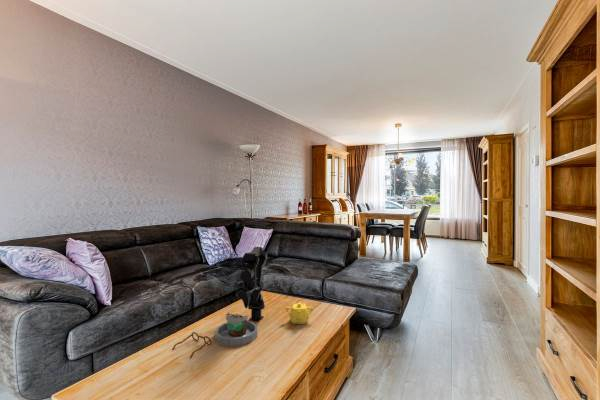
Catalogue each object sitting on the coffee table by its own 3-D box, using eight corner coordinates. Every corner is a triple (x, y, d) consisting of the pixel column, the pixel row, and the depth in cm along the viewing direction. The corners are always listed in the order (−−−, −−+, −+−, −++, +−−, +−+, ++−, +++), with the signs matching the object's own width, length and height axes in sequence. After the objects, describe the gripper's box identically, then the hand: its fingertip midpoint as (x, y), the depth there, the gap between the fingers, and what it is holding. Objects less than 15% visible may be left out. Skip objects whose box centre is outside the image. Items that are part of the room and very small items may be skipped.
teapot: (316, 322, 167) (316, 304, 167) (299, 329, 158) (299, 310, 158) (300, 315, 177) (300, 298, 177) (283, 321, 169) (283, 303, 169)
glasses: (212, 347, 141) (211, 336, 141) (189, 360, 130) (189, 349, 130) (193, 340, 148) (193, 330, 147) (170, 352, 136) (170, 341, 136)
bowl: (231, 324, 165) (231, 318, 164) (264, 330, 157) (264, 323, 157) (206, 341, 145) (206, 334, 145) (243, 349, 138) (243, 342, 138)
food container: (220, 335, 150) (220, 316, 149) (228, 330, 155) (227, 311, 155) (241, 340, 145) (241, 319, 145) (248, 334, 151) (248, 315, 151)
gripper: (246, 270, 169) (246, 297, 170) (227, 279, 152) (227, 309, 152) (264, 272, 165) (264, 300, 166) (246, 281, 148) (246, 312, 148)
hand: (250, 305), depth 158 cm, fingers open, 9 cm apart
